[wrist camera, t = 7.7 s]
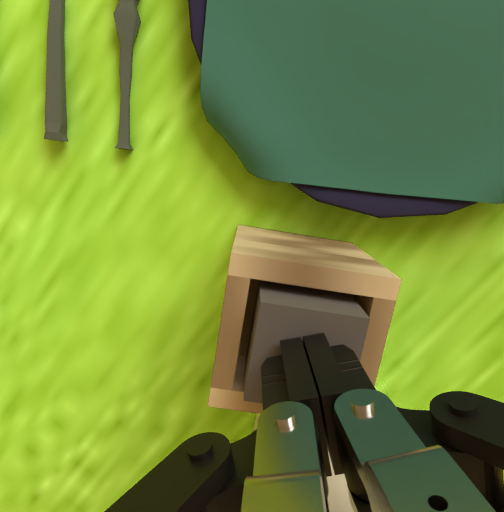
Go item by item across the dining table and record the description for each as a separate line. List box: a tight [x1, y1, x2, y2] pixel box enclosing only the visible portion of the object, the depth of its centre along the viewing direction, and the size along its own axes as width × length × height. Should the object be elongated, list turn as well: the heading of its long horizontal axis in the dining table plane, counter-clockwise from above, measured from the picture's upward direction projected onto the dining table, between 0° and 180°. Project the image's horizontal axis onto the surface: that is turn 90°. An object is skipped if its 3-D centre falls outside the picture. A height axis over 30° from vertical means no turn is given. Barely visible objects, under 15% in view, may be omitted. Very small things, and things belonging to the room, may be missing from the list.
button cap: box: [244, 280, 370, 404], centre depth 14 cm, size 4×4×2 cm
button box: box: [208, 225, 402, 414], centre depth 17 cm, size 6×6×7 cm
